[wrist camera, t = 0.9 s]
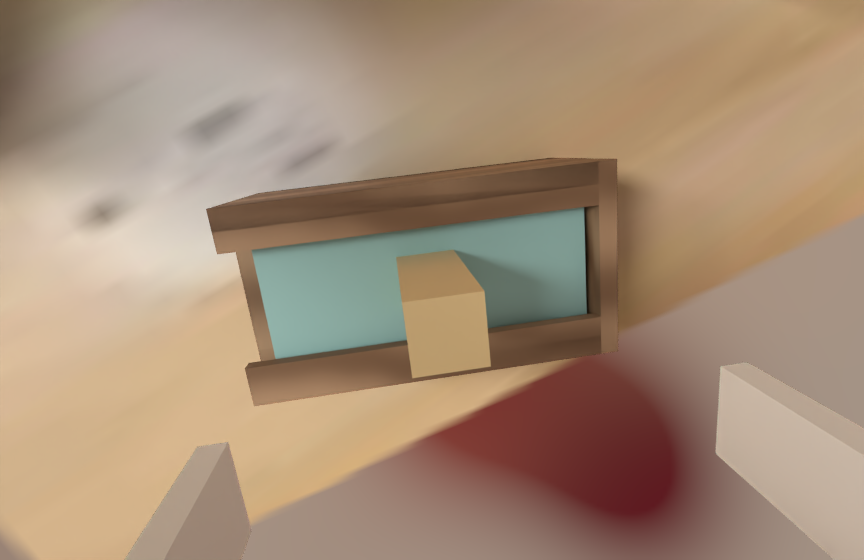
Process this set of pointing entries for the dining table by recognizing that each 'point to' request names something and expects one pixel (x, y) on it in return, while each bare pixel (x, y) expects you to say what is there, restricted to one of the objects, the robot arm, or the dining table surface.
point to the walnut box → (418, 208)
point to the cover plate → (369, 288)
